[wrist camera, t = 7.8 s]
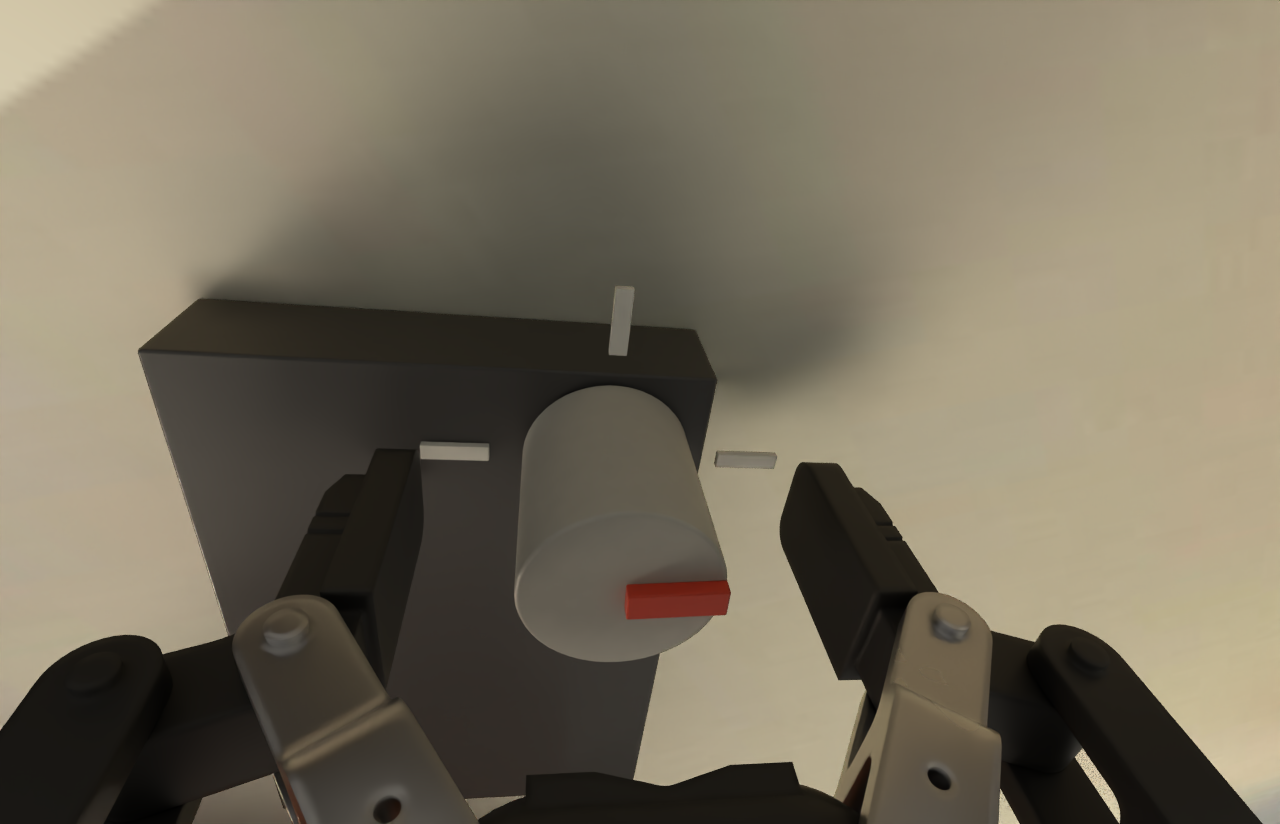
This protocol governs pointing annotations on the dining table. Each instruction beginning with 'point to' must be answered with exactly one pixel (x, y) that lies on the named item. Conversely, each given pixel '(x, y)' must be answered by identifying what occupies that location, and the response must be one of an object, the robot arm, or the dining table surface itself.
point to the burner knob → (614, 530)
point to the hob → (452, 495)
